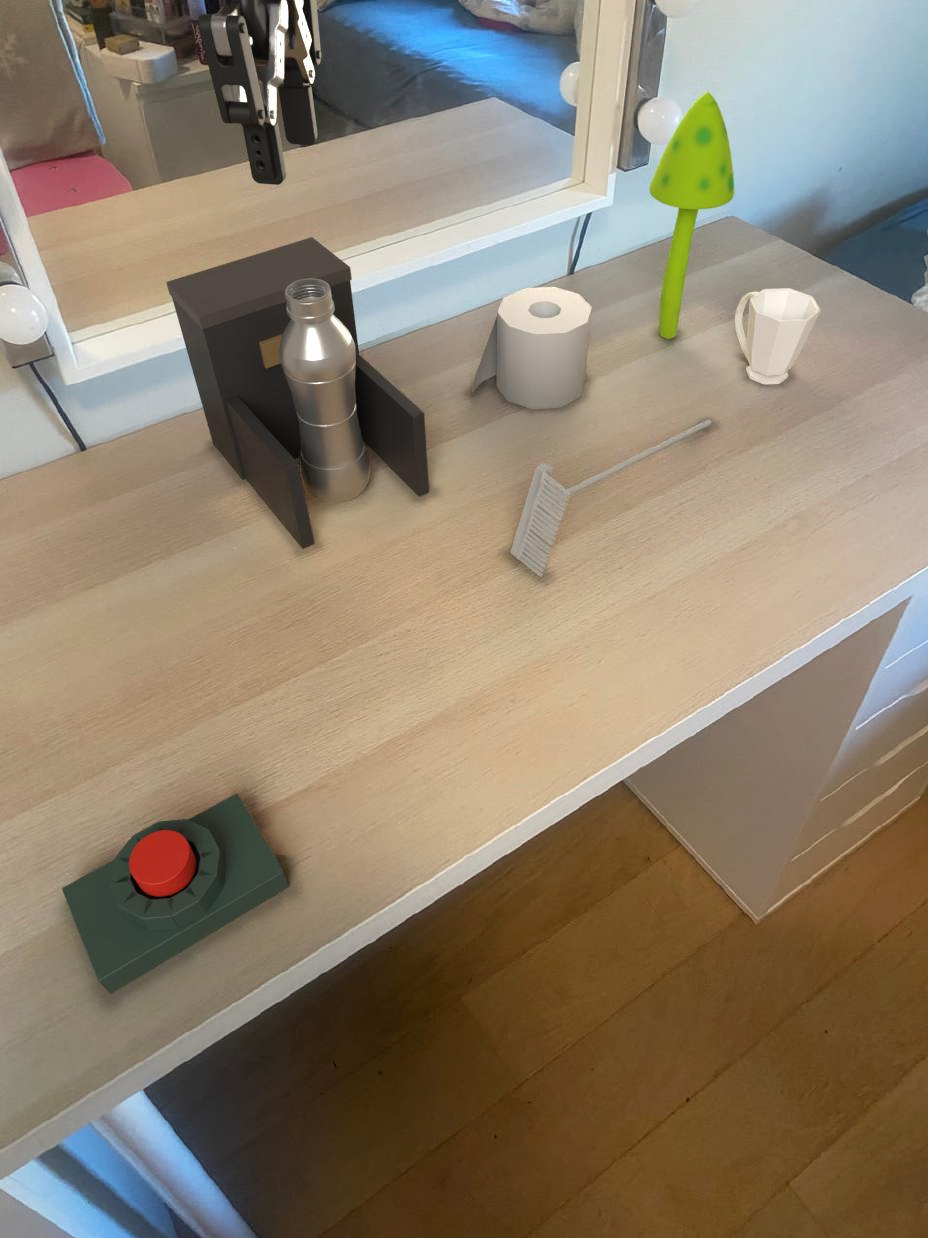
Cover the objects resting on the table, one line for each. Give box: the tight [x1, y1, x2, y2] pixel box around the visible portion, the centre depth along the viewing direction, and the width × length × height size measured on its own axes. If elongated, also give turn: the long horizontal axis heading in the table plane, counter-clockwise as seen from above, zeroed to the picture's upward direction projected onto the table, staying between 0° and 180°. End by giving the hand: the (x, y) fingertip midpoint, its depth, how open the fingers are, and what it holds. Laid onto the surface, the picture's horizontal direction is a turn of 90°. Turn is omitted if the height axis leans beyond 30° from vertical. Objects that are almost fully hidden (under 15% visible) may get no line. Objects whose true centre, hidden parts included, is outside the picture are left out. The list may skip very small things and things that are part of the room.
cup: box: [734, 287, 822, 386], centre depth 94 cm, size 7×10×8 cm
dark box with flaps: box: [165, 236, 430, 550], centre depth 81 cm, size 19×14×17 cm
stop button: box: [129, 830, 196, 897], centre depth 54 cm, size 4×4×2 cm
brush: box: [509, 419, 712, 578], centre depth 82 cm, size 4×28×9 cm, turn 133°
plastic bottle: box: [279, 278, 371, 504], centre depth 77 cm, size 6×7×20 cm
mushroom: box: [648, 91, 735, 339], centre depth 93 cm, size 8×8×25 cm
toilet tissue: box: [470, 286, 593, 410], centre depth 92 cm, size 9×13×9 cm
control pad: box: [61, 792, 290, 995], centre depth 56 cm, size 12×7×4 cm, turn 124°
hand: (286, 160), depth 63 cm, fingers open, 6 cm apart
